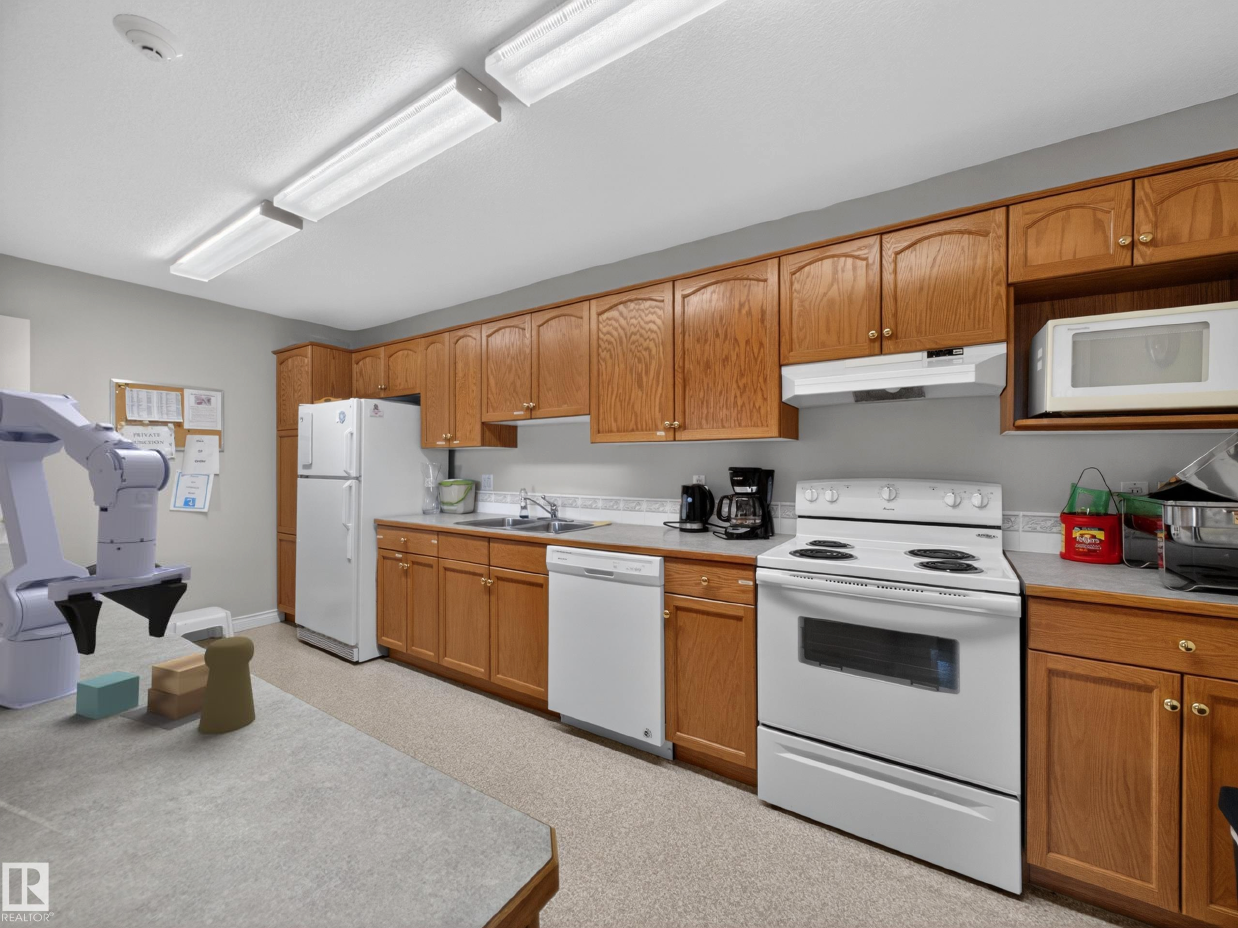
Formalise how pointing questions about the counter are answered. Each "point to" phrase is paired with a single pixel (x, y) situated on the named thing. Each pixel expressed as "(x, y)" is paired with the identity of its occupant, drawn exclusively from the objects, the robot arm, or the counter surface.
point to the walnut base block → (175, 703)
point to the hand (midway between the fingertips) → (123, 644)
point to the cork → (228, 686)
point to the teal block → (107, 694)
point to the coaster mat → (159, 718)
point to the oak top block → (180, 674)
